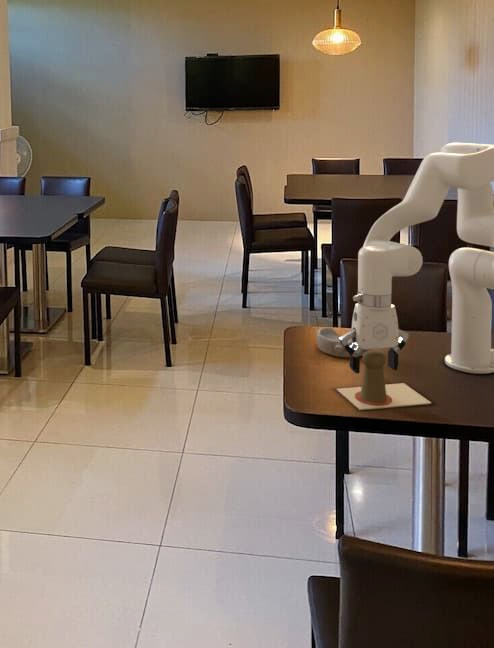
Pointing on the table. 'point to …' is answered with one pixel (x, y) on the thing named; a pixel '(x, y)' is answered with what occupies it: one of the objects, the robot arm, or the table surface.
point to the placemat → (395, 397)
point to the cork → (373, 377)
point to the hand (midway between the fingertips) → (373, 369)
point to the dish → (333, 343)
